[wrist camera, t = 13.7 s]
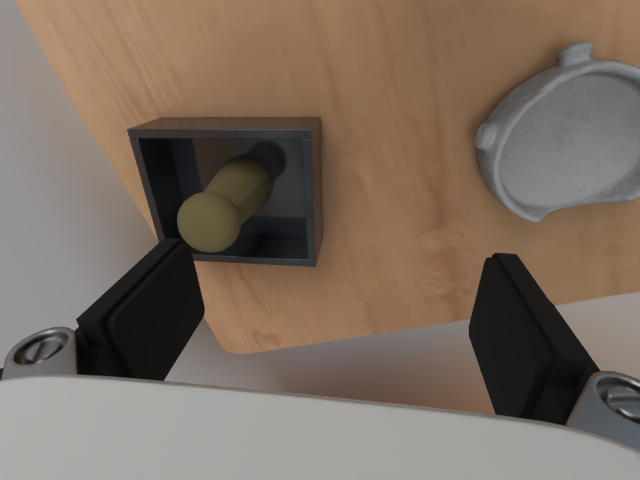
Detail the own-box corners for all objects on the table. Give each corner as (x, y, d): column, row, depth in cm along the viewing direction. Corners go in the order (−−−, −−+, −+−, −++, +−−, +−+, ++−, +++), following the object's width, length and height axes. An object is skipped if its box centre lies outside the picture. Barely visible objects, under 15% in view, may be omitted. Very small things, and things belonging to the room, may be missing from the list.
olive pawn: (224, 211, 39) (177, 264, 30) (211, 159, 36) (154, 198, 27) (275, 209, 38) (244, 263, 29) (266, 155, 36) (228, 194, 26)
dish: (663, 155, 32) (709, 173, 27) (512, 231, 37) (531, 255, 33) (607, 7, 27) (652, -1, 23) (445, 118, 33) (456, 129, 28)
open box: (161, 117, 36) (126, 129, 31) (320, 117, 34) (311, 129, 29) (188, 233, 43) (163, 259, 37) (322, 238, 41) (315, 267, 35)
